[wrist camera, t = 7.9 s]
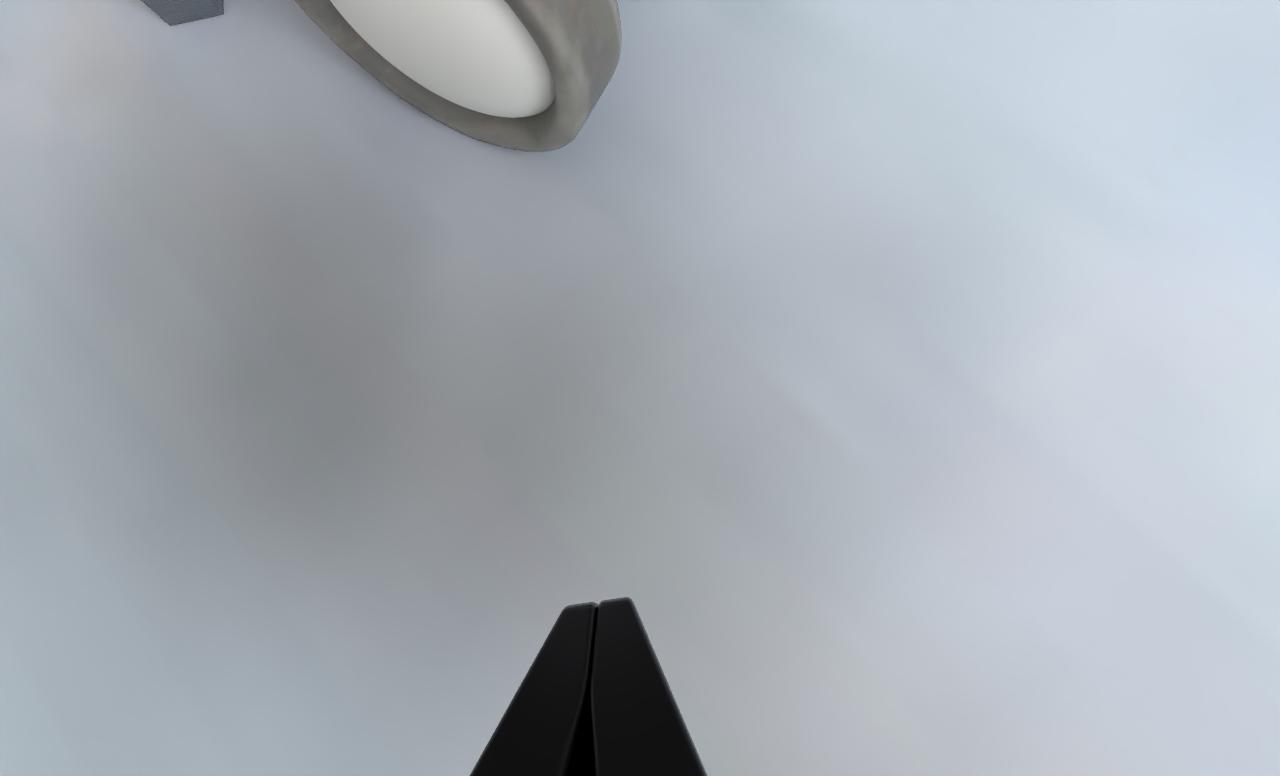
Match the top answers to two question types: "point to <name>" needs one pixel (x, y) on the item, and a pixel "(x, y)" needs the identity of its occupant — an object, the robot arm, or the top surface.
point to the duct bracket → (185, 9)
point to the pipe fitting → (485, 60)
